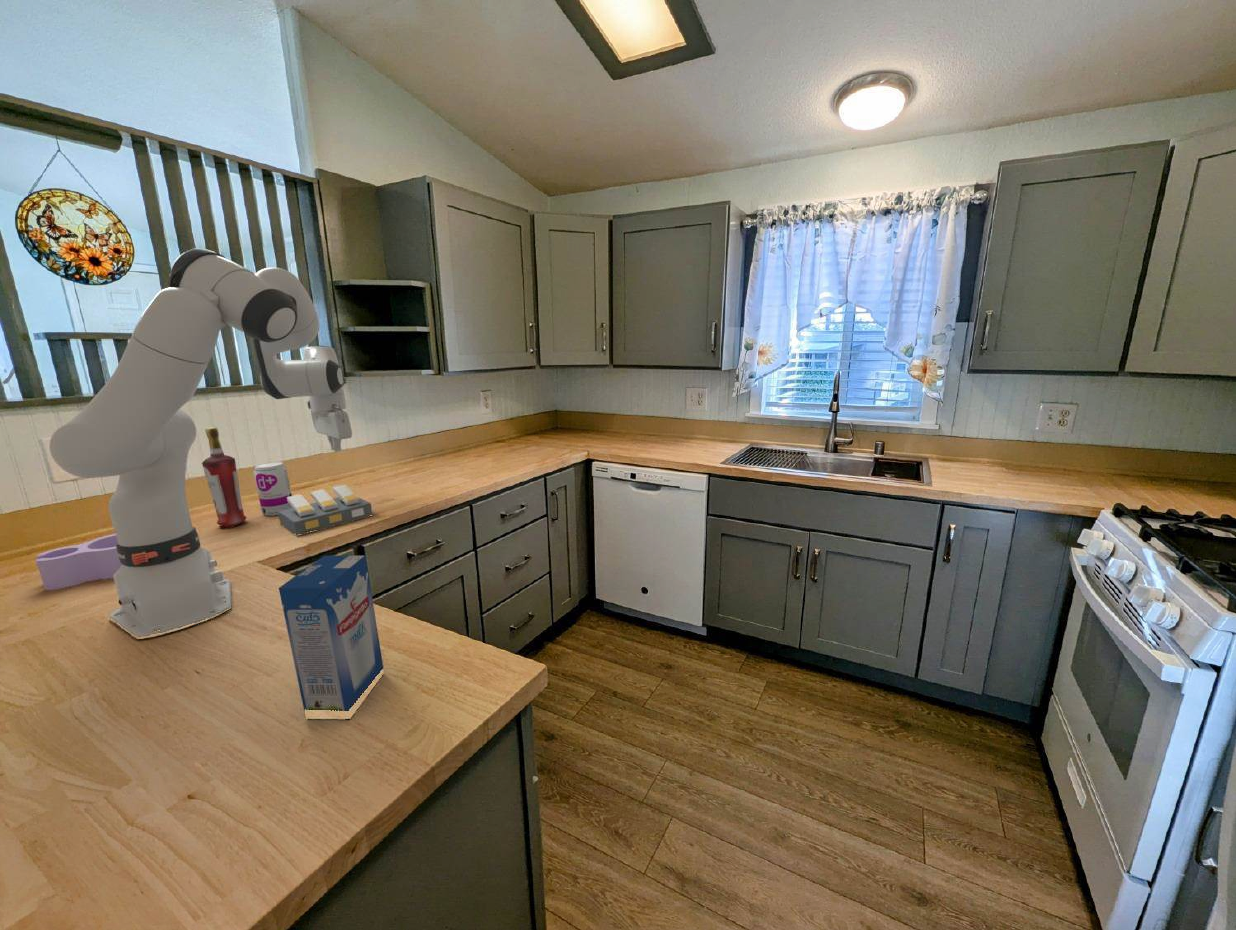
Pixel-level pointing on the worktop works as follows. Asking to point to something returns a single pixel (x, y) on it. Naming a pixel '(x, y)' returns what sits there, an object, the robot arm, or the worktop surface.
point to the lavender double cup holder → (79, 563)
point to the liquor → (223, 483)
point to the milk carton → (332, 631)
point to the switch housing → (324, 516)
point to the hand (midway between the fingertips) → (336, 450)
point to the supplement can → (272, 487)
